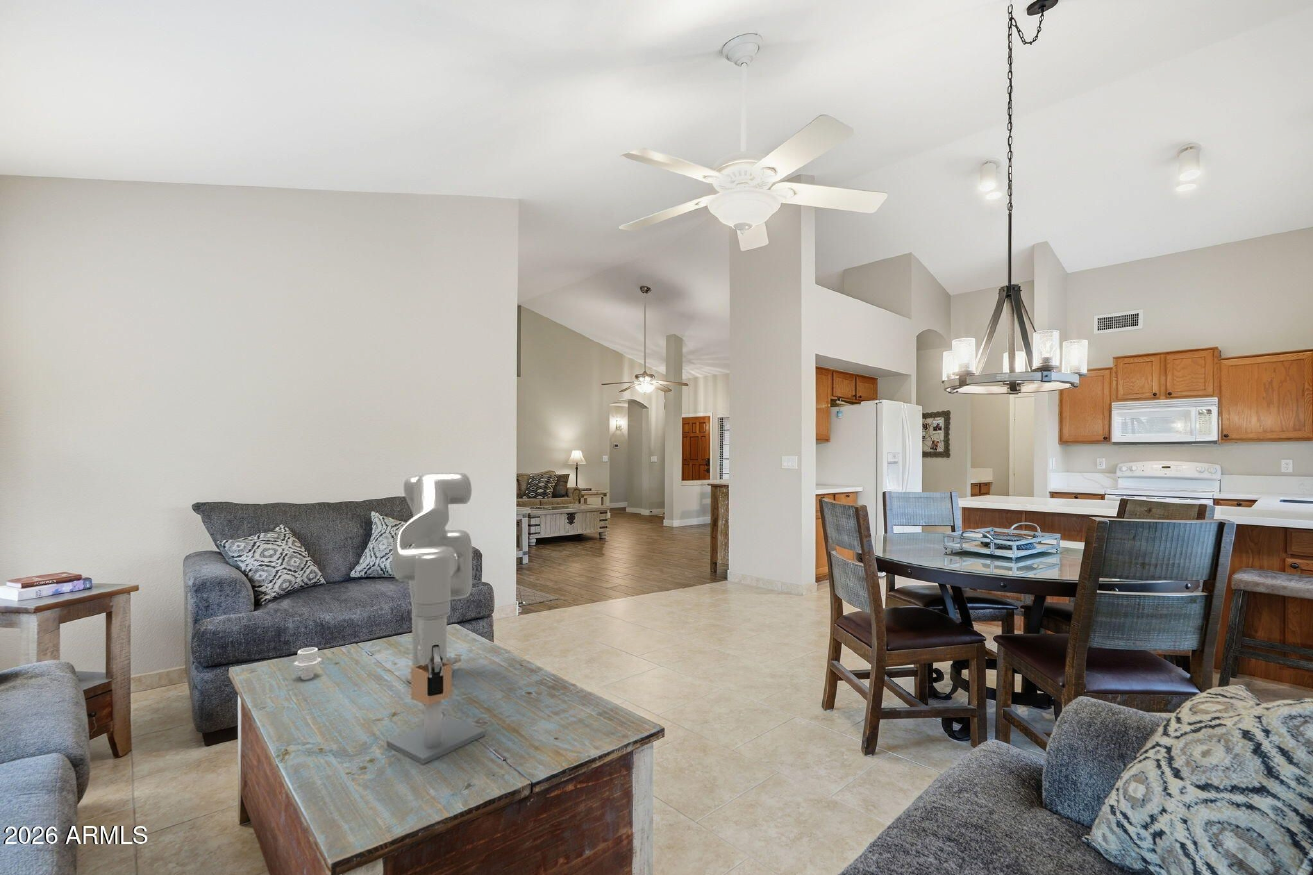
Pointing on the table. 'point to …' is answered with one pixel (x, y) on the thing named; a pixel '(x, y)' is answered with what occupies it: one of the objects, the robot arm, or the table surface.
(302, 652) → the pipe fitting
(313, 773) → the table surface
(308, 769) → the table surface
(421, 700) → the hollow square tube
